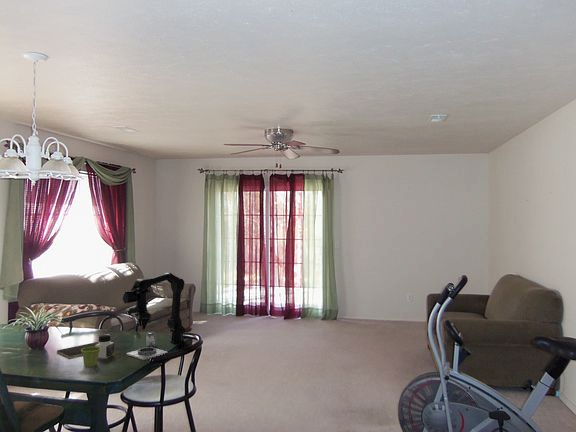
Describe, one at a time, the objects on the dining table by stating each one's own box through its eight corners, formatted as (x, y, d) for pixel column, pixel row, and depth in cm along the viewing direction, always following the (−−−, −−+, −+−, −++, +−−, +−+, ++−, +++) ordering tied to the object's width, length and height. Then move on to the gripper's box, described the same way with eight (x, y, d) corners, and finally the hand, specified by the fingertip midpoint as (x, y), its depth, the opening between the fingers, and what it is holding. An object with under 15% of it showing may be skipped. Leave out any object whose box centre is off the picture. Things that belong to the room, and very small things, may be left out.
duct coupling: (151, 344, 274) (151, 331, 274) (156, 346, 271) (156, 332, 271) (144, 346, 270) (144, 333, 270) (149, 348, 267) (149, 334, 267)
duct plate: (150, 348, 266) (150, 344, 266) (167, 353, 256) (167, 349, 256) (126, 354, 253) (126, 350, 253) (143, 360, 243) (143, 355, 243)
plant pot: (97, 361, 241) (97, 345, 241) (102, 366, 233) (102, 349, 234) (78, 365, 235) (78, 348, 235) (83, 369, 228) (83, 352, 228)
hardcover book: (109, 350, 263) (109, 346, 263) (69, 359, 246) (69, 355, 246) (96, 345, 274) (96, 341, 274) (56, 353, 257) (57, 349, 257)
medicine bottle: (106, 358, 246) (106, 336, 246) (94, 358, 247) (95, 336, 247) (114, 355, 253) (114, 333, 253) (102, 354, 254) (102, 332, 254)
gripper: (124, 299, 265) (124, 326, 266) (130, 305, 249) (130, 333, 249) (143, 297, 271) (144, 323, 271) (150, 302, 255) (151, 330, 255)
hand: (142, 327), depth 261 cm, fingers open, 9 cm apart
